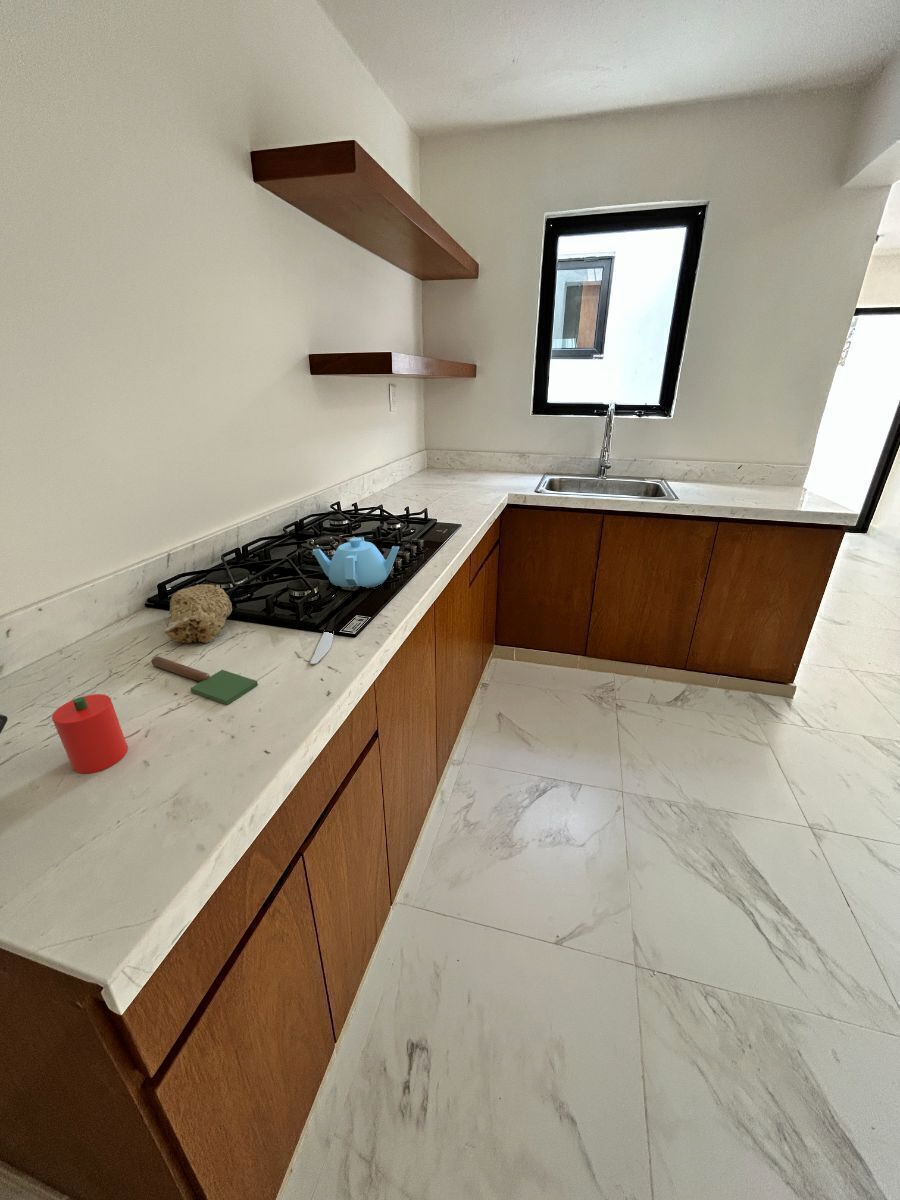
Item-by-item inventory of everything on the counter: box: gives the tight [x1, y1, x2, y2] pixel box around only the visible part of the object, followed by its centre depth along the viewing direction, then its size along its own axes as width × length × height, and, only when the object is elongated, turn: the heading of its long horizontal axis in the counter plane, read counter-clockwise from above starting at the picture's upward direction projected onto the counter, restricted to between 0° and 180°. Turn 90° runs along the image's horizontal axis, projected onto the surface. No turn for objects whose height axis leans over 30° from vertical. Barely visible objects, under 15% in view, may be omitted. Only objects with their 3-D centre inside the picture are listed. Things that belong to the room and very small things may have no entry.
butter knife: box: [309, 631, 334, 665], centre depth 96 cm, size 1×27×3 cm
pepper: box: [51, 693, 129, 775], centre depth 62 cm, size 6×6×9 cm
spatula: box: [150, 656, 259, 706], centre depth 80 cm, size 21×6×2 cm, turn 63°
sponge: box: [164, 583, 233, 644], centre depth 98 cm, size 13×8×20 cm
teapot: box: [312, 536, 400, 588], centre depth 116 cm, size 15×15×11 cm
